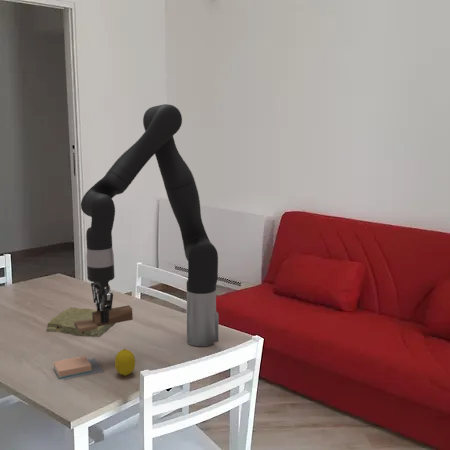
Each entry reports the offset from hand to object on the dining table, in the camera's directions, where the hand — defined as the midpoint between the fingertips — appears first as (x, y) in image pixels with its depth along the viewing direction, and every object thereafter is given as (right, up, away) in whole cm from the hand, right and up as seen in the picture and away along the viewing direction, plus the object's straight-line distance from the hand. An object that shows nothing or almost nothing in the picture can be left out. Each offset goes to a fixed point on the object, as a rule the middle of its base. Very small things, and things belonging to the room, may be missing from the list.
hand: (103, 320), depth 167 cm
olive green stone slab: (-13, -7, +32) cm, 35 cm away
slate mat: (-6, -14, -2) cm, 15 cm away
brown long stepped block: (0, -1, 0) cm, 1 cm away
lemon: (+7, -15, -6) cm, 17 cm away
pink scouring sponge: (-4, -12, -2) cm, 13 cm away
